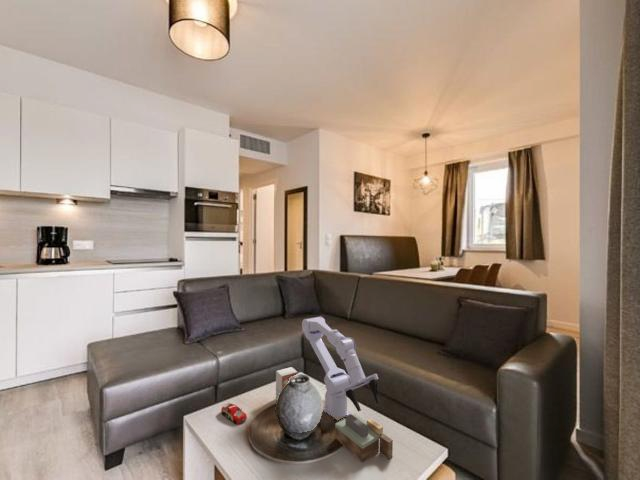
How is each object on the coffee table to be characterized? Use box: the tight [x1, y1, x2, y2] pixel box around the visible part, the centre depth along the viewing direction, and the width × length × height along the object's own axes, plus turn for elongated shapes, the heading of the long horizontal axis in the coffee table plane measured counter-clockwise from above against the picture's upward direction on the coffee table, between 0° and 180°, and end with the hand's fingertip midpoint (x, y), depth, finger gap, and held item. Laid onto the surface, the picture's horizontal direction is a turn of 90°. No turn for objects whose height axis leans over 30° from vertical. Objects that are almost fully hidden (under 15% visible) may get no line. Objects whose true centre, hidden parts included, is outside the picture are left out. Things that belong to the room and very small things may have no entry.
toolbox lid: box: [334, 413, 384, 449], centre depth 108 cm, size 14×10×5 cm
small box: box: [275, 366, 299, 400], centre depth 137 cm, size 8×6×13 cm
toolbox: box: [334, 427, 394, 463], centre depth 107 cm, size 18×10×6 cm, turn 37°
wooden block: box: [366, 418, 384, 434], centre depth 108 cm, size 6×2×2 cm, turn 37°
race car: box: [220, 402, 248, 425], centre depth 124 cm, size 13×5×4 cm, turn 49°
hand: (368, 407), depth 110 cm, fingers open, 7 cm apart
